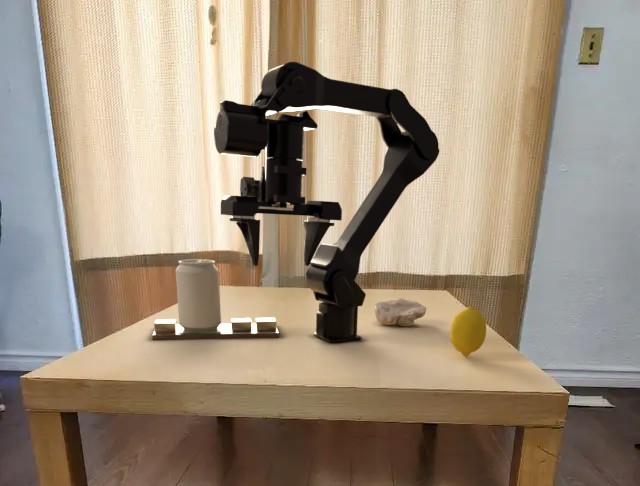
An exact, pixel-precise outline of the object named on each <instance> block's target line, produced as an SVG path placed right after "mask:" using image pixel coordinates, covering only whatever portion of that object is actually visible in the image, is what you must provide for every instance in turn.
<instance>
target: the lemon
mask: <svg viewBox="0 0 640 486" xmlns="http://www.w3.org/2000/svg"><path fill="white" fill-rule="evenodd" d="M486 335H487V322H486V319H485V317H484V315H483V314H482V312H481V311H479V310H477V309H475V308H474V306H471V305H470V306H468V307H467V308H464V309H461V310H460V311H459V312H457V313H456V315H454V317H453V319H452V321H451V324H450V330H449V338H450V343H451V345H452V347H453V348H454V349H455V350H456V351H457V352H459V353H460V354H461V355H462V356H463V357H468V356H470V355H471V354H472V353H475V352H476V351H478V350H479V349H480V348H482V346H483V344H484V342H485V339H486Z"/></svg>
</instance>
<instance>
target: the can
mask: <svg viewBox="0 0 640 486" xmlns="http://www.w3.org/2000/svg"><path fill="white" fill-rule="evenodd" d="M215 263H216V261H215V260H213V259H205V258H204V259H201V258H200V259H199V258H197V259H196V258H192V259H181V260H178V264H179V265H178V266H177V267H176V269H175V281H176V296H177V297H176V298H177V309H178V324H179V325H180V326H182V327H183V328H184V329H185V330H187V331H193V332H204V331H212V330H215V329H217V327H218V326H219V325H220V324H222V311H221V310H222V309H221V289H220V287H221V285H220V270H219V269H218V267H217V266H216V265H215Z"/></svg>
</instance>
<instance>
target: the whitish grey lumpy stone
mask: <svg viewBox="0 0 640 486" xmlns="http://www.w3.org/2000/svg"><path fill="white" fill-rule="evenodd" d="M426 312H427V307H426V306H424V305H423V304H422V303H420V302H418V301H416V300H413V299H412V300H411V299H405V298H394V299H389V300H386V301H379V302H376V303H375V307H374V315H375V319H376V322H377V323H379V324H381V325H384V326H393V325H398V326H401V327H411V326H412V325H414V323H415V321H417V320H418V319H421V318H423V317H424V316H425V315H426Z"/></svg>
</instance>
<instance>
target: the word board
mask: <svg viewBox="0 0 640 486" xmlns="http://www.w3.org/2000/svg"><path fill="white" fill-rule="evenodd" d="M177 321H178V320H177V319H176V318H167V319H166V318H165V319H164V318H163V319H162V318H161V319H160V318H159V319H157V318H156V319H155V321H154V323H153V326H154V327H153V329H154V330H153V333H152V335H151V339H152V340H155V341H156V340H205V339H206V340H207V339H209V340H210V339H243V338H244V339H250V338H251V339H255V338H257V339H258V338H260V339H261V338H280V332H279V330H278V327H277V320H276V318H275V317H256V318H255V322H253V321H252V319H251V317H243V318H242V317H234V318H233V317H231V318H230V323H221V324H220V325H219V326H218V327H217V329H215V330H212V331H204V332H193V331H187V330H185V329H184V328H183V327H182V326H180V325H179V323H178V322H177Z"/></svg>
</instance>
